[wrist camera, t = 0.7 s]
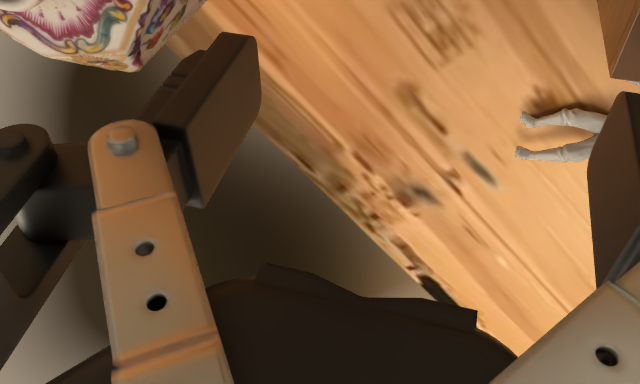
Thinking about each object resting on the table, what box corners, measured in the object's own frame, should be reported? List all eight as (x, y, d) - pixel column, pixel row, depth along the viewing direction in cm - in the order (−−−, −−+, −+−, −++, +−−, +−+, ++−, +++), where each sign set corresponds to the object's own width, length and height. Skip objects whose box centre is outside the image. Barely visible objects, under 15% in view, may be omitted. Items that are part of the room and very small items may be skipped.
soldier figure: (524, 68, 38) (740, 66, 31) (546, 83, 42) (743, 84, 35) (508, 179, 39) (717, 204, 31) (531, 184, 42) (723, 207, 35)
